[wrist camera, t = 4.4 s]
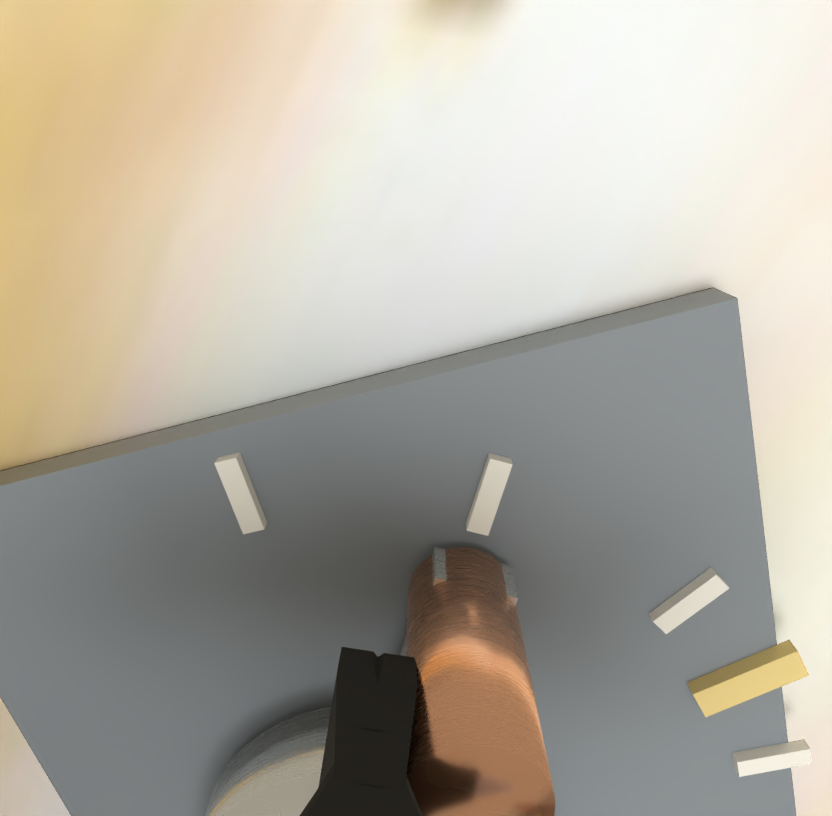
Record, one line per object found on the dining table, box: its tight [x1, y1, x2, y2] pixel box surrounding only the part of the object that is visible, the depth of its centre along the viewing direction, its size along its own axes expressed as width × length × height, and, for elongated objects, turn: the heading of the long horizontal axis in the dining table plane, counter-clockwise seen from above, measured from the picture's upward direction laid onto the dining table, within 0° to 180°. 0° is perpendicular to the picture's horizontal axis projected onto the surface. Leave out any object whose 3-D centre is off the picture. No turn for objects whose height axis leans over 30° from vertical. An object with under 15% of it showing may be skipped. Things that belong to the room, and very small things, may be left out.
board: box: [0, 288, 812, 816], centre depth 18 cm, size 20×22×2 cm
